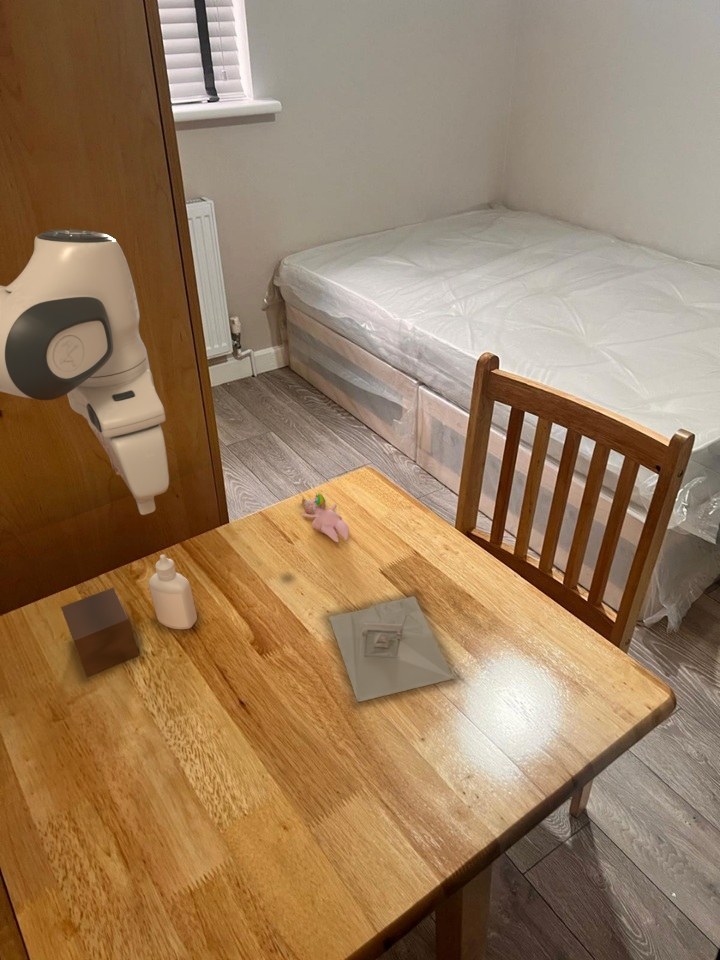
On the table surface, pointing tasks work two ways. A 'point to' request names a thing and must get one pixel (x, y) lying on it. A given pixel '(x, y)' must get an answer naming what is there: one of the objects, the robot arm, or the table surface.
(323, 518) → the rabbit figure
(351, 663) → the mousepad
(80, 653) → the walnut block
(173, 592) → the eye dropper bottle
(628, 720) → the table surface
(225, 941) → the table surface
